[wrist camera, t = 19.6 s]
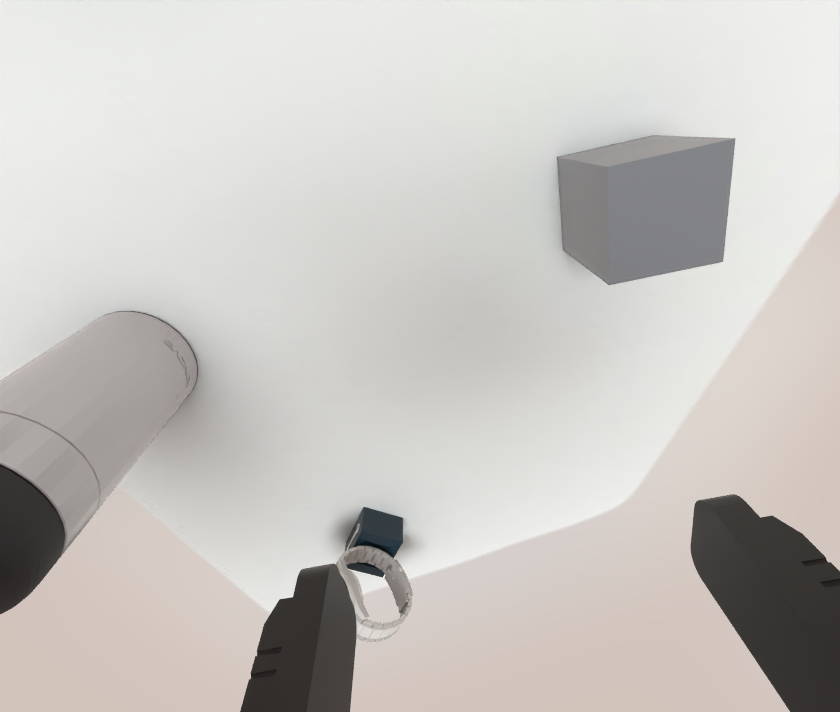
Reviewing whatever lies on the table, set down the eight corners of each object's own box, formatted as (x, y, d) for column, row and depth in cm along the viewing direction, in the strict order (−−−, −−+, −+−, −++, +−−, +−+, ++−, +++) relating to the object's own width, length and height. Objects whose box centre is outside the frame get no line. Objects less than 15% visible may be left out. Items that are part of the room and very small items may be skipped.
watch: (345, 501, 46) (330, 602, 37) (418, 522, 48) (422, 623, 38) (328, 538, 49) (310, 642, 39) (398, 556, 50) (397, 660, 41)
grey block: (563, 249, 35) (609, 285, 28) (557, 157, 32) (606, 166, 25) (651, 231, 35) (723, 261, 27) (653, 135, 32) (735, 138, 24)
